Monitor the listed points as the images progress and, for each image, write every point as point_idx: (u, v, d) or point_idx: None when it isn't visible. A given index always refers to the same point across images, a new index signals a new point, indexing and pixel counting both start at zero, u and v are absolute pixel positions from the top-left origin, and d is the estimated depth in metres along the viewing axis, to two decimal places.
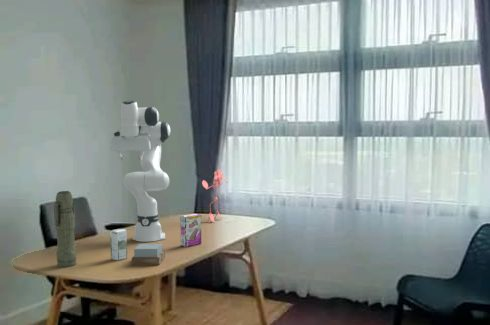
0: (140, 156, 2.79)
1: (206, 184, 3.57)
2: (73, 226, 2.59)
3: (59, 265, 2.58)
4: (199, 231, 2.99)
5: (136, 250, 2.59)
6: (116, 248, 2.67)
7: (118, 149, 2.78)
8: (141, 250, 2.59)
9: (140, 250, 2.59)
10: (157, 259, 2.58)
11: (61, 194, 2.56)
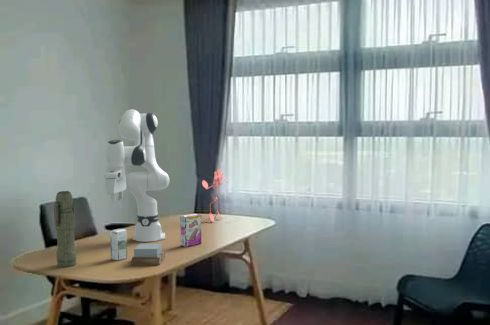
0: None
1: (206, 184, 3.57)
2: (73, 226, 2.59)
3: (59, 265, 2.58)
4: (199, 231, 2.99)
5: (136, 250, 2.59)
6: (116, 248, 2.67)
7: (116, 191, 2.63)
8: (141, 250, 2.59)
9: (140, 250, 2.59)
10: (157, 259, 2.58)
11: (61, 194, 2.56)
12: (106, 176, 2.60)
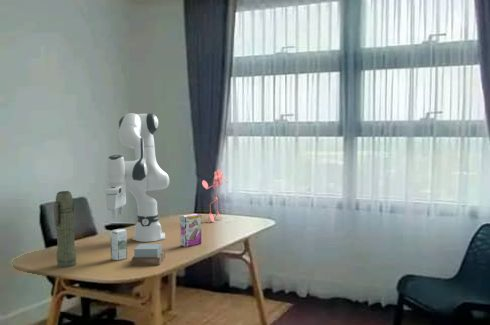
0: (122, 211, 2.74)
1: (206, 184, 3.57)
2: (73, 226, 2.59)
3: (59, 265, 2.58)
4: (199, 231, 2.99)
5: (136, 250, 2.59)
6: (116, 248, 2.67)
7: (117, 207, 2.63)
8: (141, 250, 2.59)
9: (140, 250, 2.59)
10: (157, 259, 2.58)
11: (61, 194, 2.56)
12: (107, 192, 2.60)
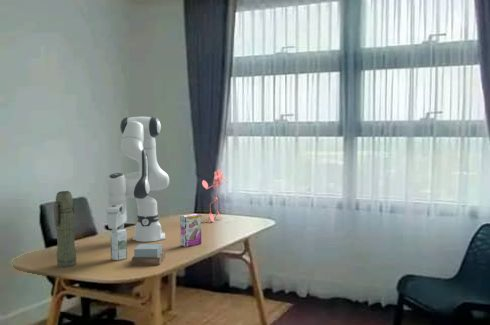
0: None
1: (206, 184, 3.57)
2: (73, 226, 2.59)
3: (59, 265, 2.58)
4: (199, 231, 2.99)
5: (136, 250, 2.59)
6: (116, 248, 2.67)
7: (118, 225, 2.63)
8: (141, 250, 2.59)
9: (140, 250, 2.59)
10: (157, 259, 2.58)
11: (61, 194, 2.56)
12: (108, 211, 2.60)
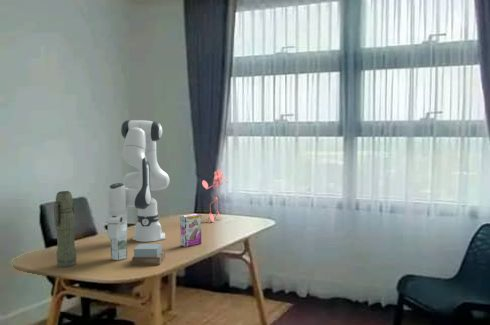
0: None
1: (206, 184, 3.57)
2: (73, 226, 2.59)
3: (59, 265, 2.58)
4: (199, 231, 2.99)
5: (136, 250, 2.59)
6: (116, 248, 2.67)
7: (118, 236, 2.64)
8: (141, 250, 2.59)
9: (140, 250, 2.59)
10: (157, 259, 2.58)
11: (61, 194, 2.56)
12: (108, 221, 2.61)
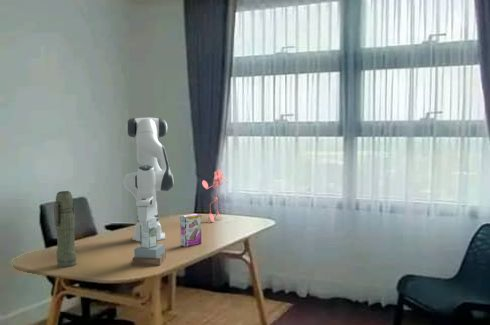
0: None
1: (206, 184, 3.57)
2: (73, 226, 2.59)
3: (59, 265, 2.58)
4: (199, 231, 2.99)
5: (136, 250, 2.60)
6: (147, 236, 2.60)
7: (148, 219, 2.57)
8: (141, 250, 2.59)
9: (140, 250, 2.59)
10: (158, 260, 2.57)
11: (61, 194, 2.56)
12: (138, 204, 2.54)
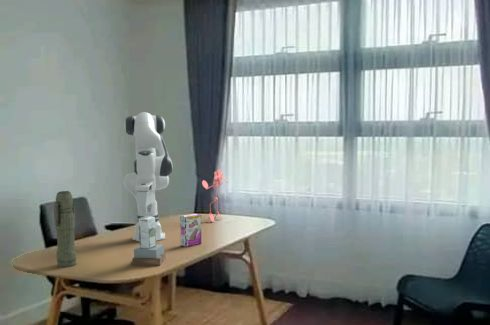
0: (151, 208, 2.68)
1: (206, 184, 3.57)
2: (73, 226, 2.59)
3: (59, 265, 2.58)
4: (199, 231, 2.99)
5: (136, 250, 2.59)
6: (147, 236, 2.58)
7: (147, 204, 2.57)
8: (141, 251, 2.59)
9: (140, 251, 2.59)
10: (158, 260, 2.57)
11: (61, 194, 2.56)
12: (138, 189, 2.54)
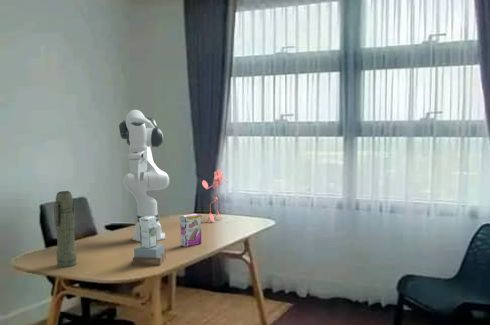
0: (143, 177, 2.81)
1: (206, 184, 3.57)
2: (73, 226, 2.59)
3: (59, 265, 2.58)
4: (199, 231, 2.99)
5: (136, 250, 2.60)
6: (148, 236, 2.59)
7: (139, 171, 2.70)
8: (141, 250, 2.59)
9: (140, 250, 2.59)
10: (158, 259, 2.57)
11: (61, 194, 2.56)
12: (130, 157, 2.67)
